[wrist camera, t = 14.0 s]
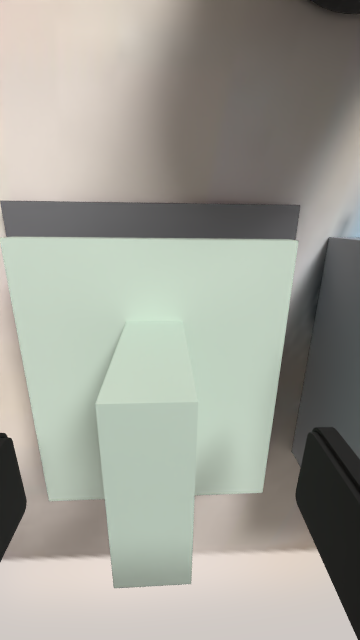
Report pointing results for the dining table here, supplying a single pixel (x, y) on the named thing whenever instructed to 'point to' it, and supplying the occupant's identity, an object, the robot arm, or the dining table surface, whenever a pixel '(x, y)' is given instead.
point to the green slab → (151, 378)
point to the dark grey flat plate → (149, 220)
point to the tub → (334, 351)
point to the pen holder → (340, 5)
